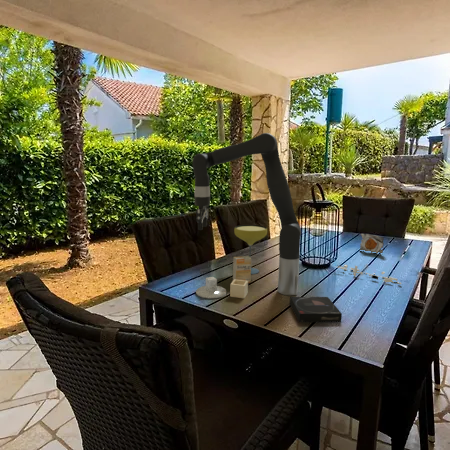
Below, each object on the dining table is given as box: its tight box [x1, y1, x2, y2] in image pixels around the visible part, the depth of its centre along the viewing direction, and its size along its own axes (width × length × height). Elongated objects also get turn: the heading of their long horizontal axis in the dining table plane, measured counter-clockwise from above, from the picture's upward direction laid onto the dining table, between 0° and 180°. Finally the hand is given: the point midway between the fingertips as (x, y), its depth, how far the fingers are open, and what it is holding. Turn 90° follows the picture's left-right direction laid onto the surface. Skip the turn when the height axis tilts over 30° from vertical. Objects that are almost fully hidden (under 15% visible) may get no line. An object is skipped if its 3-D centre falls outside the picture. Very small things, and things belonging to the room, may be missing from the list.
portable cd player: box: [289, 296, 343, 323], centre depth 140 cm, size 16×17×4 cm
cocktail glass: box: [233, 224, 268, 275], centre depth 188 cm, size 18×18×25 cm
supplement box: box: [232, 255, 252, 284], centre depth 173 cm, size 8×5×13 cm, turn 105°
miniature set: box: [333, 264, 402, 285], centre depth 185 cm, size 6×35×12 cm
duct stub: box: [195, 276, 227, 300], centre depth 158 cm, size 14×14×7 cm
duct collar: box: [229, 279, 249, 299], centre depth 156 cm, size 7×7×6 cm
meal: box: [359, 233, 385, 253], centre depth 230 cm, size 15×4×13 cm, turn 53°
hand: (202, 228), depth 167 cm, fingers open, 8 cm apart
